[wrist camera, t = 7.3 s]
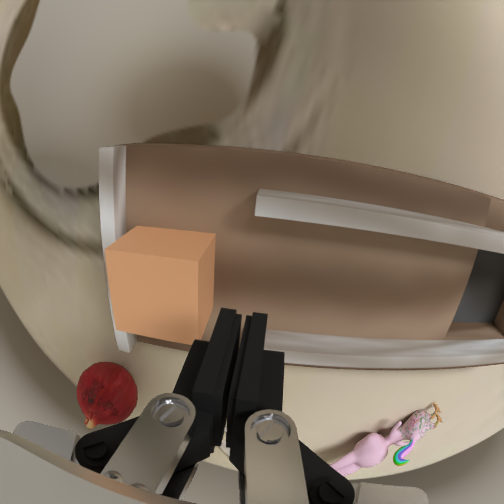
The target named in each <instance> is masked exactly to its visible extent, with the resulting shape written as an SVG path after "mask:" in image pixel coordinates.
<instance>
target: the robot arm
mask: <svg viewBox="0 0 504 504" xmlns="http://www.w3.org/2000/svg"><path fill="white" fill-rule="evenodd" d="M267 318H268V314H265V313H257V312H253V314H252V316H250V315H246V319H245V324H244V328H243V333H242V338H241V342H240V332H241V320H242V314H237V310H235V309H228V308H221V309H220V312H219V315H218V318H217V321H216V324H215V327H214V330H213V332H212V335H211V338H210V341H203V340H197V339H195V340H194V341H193V343H192V346H191V348H190V351H189V353H188V356H187V358H186V361H185V363H184V366H183V368H182V370H181V373H180V375H179V378H178V380H177V383H176V385H175V388H174V390H173V393H165V394H161V395H158V396H156V397H155V398H153V399H152V400H151V401H150V402H149V403H148V405H147V406H146V407H145V409H144V410H143V412H142V413H141V415H140V416H138V417H136V418H133V419H130V420H127V421H125V422H122V423H119V424H116V425H113V426H110V427H107V428H104V429H101V430H98V431H95V432H92V433H89V434H86V435H85V436H82V435H79V434H78V433H77V432H75V431H70V430H65V429H60V428H56V427H52V426H48V425H44V424H40V423H36V422H33V421H25V422H21V423H20V424H19V425H18V426H17V427H16V428H15V430H14V432H13V433H10V432H7V431H3V430H0V504H195V503H191V502H186V501H182V500H183V498H184V496H185V494H186V492H187V489H188V487H189V485H190V483H191V481H192V479H193V477H194V475H195V473H196V471H197V468H198V466H199V463H200V461H202V460H204V459H206V458H208V457H210V453H213V452H214V448H215V446H221V444H222V439H223V435H224V430H225V425H226V421H227V431H226V447H227V448H230V456H229V460H230V461H231V463H232V464H233V465H234V466H235V467H236V468H237V469H238V470H239V471H238V483H239V504H429V502H428V497H427V495H426V494H425V492H424V491H422V490H421V489H419V488H414V487H401V486H390V485H380V484H372V483H364V482H361V483H360V484H355V483H350V482H349V481H348V480H347V479H346V478H345V477H344V476H342V475H341V474H340V473H338V472H337V471H336V470H335V469H333V468H332V467H331V466H330V465H328V464H327V463H326V462H325V461H323V460H322V459H321V458H320V457H319V456H317V455H316V454H315V453H314V452H313V451H311V450H310V449H309V448H308V447H307V446H306V445H304V444H303V443H302V442H301V441H300V440H299V439H298V434H297V428H296V425H295V423H294V421H293V420H292V419H291V417H289V416H288V415H286V414H285V413H283V412H282V402H283V382H284V358H285V353H284V352H280V351H271V350H264V343H265V335H266V326H267ZM239 343H240V347H239Z"/></svg>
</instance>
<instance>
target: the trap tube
mask: <svg viewBox="0 0 504 504" xmlns="http://www.w3.org/2000/svg"><path fill="white" fill-rule="evenodd" d="M99 202H100V222H101V236H102V247H103V257H104V267H105V275H106V283H107V290H108V297H109V303H110V310H111V315H112V321H113V327H114V332H115V337H116V342H117V347H118V350H120V351H124V352H128V353H130V352H131V351H132V349H133V347H134V346H135V344H136V343H137V341H140V342H145V343H149V344H154V345H159V346H164V347H169V348H174V349H179V350H184V351H190V348H191V346H192V345H188V344H183V343H177V342H172V341H166V340H161V339H156V338H151V337H146V336H142V335H137V334H133V333H128V332H124V331H119V330H116V326H115V321H114V315H113V309H112V303H111V297H110V290H109V283H108V276H107V268H106V259H105V248H107V247H108V246H109V245H111V244H112V243H114V242H115V241H116V240H118V239H119V238H120V237H122V236H123V235H125V234H126V233H127V232H129V231H130V230H132V229H133V228H134V227H136V226H146V227H156V228H166V229H176V230H186V231H195V232H205V233H214V234H216V241H215V266H214V295H213V309H212V312H211V315H210V317H209V320H208V322H207V325H206V328H205V330H204V333H203V336H202V338H201V340H203V341H210V338H211V335H212V332H213V330H214V327H215V324H216V321H217V318H218V315H219V312H220V309H221V308H228V309H235V310H237V314H242V320H241V332H240V342H241V338H242V333H243V328H244V324H245V319H246V315H250V316H252V314H253V312H257V313H265V314H268V318H267V326H266V335H265V343H264V350H271V351H280V352H284V353H285V358H284V365H293V366H305V367H318V368H335V369H357V370H429V369H450V368H465V367H477V366H488V365H497V364H504V200H502V199H499V198H496V197H493V196H490V195H487V194H483V193H480V192H477V191H474V190H470V189H467V188H463V187H460V186H456V185H453V184H449V183H445V182H442V181H438V180H434V179H430V178H426V177H422V176H418V175H414V174H409V173H405V172H400V171H396V170H391V169H386V168H382V167H377V166H371V165H366V164H361V163H355V162H350V161H344V160H338V159H332V158H325V157H319V156H312V155H305V154H297V153H289V152H281V151H272V150H263V149H253V148H241V147H229V146H214V145H196V144H169V143H132V144H123V145H115V146H107V147H101V148H99ZM239 347H240V343H239Z"/></svg>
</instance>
